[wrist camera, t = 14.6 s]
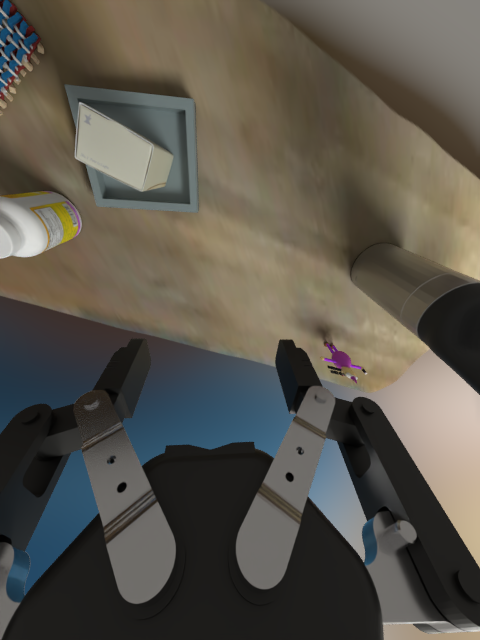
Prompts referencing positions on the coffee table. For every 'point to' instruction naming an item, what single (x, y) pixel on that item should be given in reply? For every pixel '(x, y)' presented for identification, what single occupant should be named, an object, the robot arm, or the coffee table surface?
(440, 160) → the coffee table surface
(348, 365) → the wizard figurine
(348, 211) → the coffee table surface
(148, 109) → the tray
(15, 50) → the woven mat
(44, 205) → the supplement bottle
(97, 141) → the skincare box
